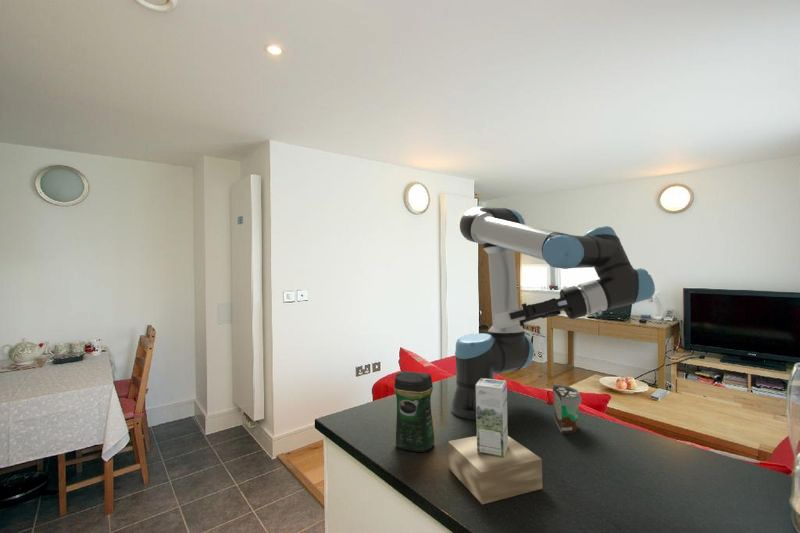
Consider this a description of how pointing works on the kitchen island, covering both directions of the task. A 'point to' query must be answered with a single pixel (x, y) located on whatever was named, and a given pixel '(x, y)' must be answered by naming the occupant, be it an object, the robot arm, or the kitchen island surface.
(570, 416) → the food container
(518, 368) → the robot arm
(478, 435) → the syrup box
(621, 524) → the kitchen island surface
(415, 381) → the coffee jar
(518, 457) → the oak plinth
